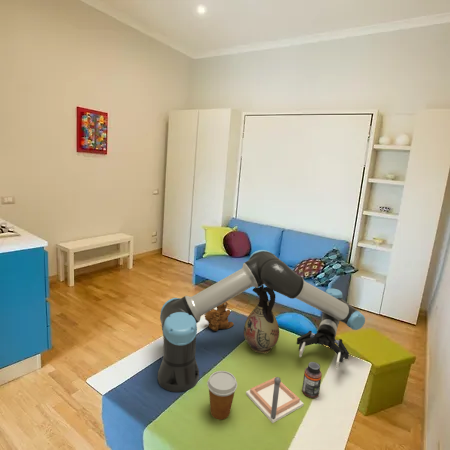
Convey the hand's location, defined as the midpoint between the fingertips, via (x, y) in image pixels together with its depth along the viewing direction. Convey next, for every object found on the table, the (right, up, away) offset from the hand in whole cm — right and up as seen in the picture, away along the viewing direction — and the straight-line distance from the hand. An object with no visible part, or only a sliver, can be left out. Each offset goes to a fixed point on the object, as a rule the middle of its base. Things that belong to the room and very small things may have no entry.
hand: (318, 359), depth 117 cm
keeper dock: (-19, -9, -10) cm, 23 cm away
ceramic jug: (-20, -3, +18) cm, 27 cm away
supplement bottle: (-5, -10, -6) cm, 12 cm away
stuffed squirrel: (-39, +1, +33) cm, 51 cm away
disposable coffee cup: (-37, -10, -17) cm, 42 cm away
